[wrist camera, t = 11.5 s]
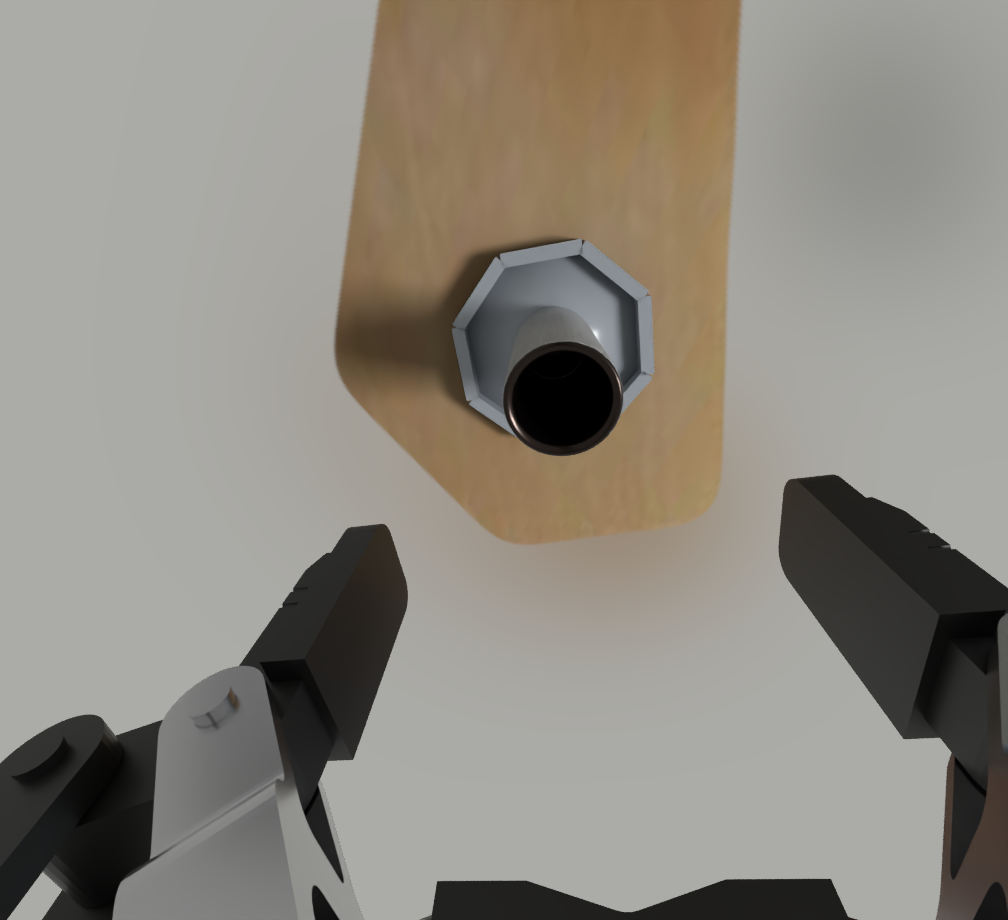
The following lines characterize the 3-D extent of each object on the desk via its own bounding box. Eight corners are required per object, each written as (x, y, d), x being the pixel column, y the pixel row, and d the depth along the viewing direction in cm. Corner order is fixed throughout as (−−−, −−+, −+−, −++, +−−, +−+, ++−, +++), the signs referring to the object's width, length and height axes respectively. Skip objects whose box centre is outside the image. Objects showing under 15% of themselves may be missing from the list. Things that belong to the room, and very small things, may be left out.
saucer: (442, 264, 26) (437, 265, 25) (642, 226, 24) (648, 226, 23) (479, 442, 30) (477, 451, 29) (651, 420, 29) (656, 428, 28)
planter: (608, 355, 27) (647, 415, 17) (544, 400, 28) (547, 477, 19) (564, 288, 25) (580, 314, 16) (498, 338, 27) (477, 389, 17)
